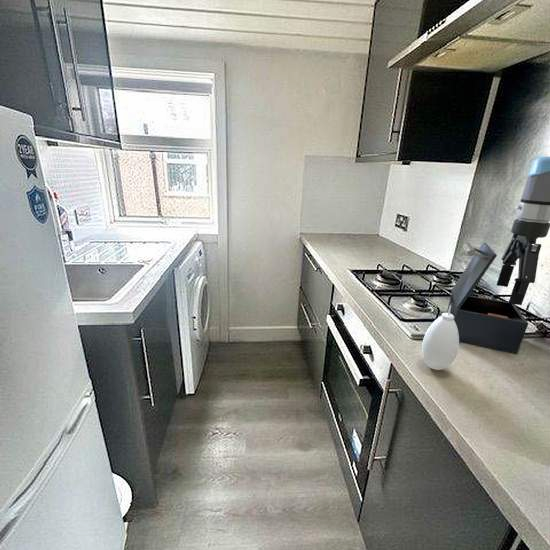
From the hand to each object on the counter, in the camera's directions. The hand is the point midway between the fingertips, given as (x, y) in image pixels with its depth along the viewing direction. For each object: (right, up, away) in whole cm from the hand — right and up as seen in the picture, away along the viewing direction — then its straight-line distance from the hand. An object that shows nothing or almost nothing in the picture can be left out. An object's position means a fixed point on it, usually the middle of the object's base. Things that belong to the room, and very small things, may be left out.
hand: (507, 294), depth 86 cm
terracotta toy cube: (0, -13, +5) cm, 14 cm away
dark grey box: (-4, -13, +7) cm, 15 cm away
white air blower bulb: (-26, -19, -8) cm, 33 cm away
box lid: (-9, +5, +2) cm, 10 cm away
